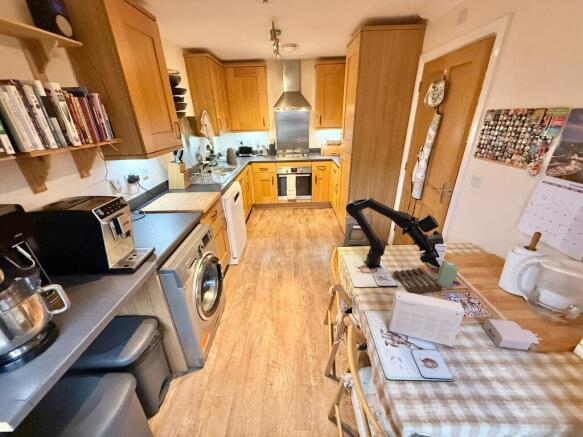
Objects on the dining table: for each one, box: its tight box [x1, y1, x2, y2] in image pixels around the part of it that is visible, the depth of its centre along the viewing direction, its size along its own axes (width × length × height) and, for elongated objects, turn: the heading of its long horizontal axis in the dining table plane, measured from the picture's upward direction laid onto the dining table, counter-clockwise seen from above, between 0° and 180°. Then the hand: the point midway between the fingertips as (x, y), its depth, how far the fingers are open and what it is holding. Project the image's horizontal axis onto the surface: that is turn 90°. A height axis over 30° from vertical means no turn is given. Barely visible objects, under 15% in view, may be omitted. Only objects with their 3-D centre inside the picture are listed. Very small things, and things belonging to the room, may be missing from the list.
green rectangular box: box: [436, 259, 458, 289], centre depth 109 cm, size 6×6×12 cm
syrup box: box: [426, 241, 448, 269], centre depth 122 cm, size 6×6×14 cm
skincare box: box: [388, 289, 466, 348], centre depth 83 cm, size 21×5×16 cm, turn 71°
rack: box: [392, 267, 443, 295], centre depth 111 cm, size 16×14×3 cm
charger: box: [483, 318, 543, 351], centre depth 83 cm, size 5×9×15 cm
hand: (439, 262), depth 108 cm, fingers open, 9 cm apart
